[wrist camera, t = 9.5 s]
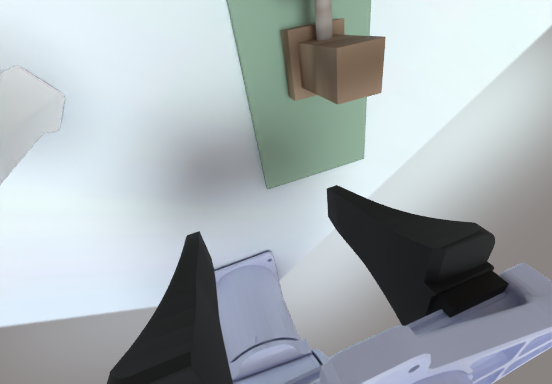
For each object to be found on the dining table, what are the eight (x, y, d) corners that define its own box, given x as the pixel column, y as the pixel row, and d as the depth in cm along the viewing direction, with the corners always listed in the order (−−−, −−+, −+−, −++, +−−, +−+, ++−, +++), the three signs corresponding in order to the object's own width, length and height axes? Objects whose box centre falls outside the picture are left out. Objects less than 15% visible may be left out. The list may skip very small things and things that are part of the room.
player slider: (336, 85, 21) (388, 104, 16) (289, 97, 20) (328, 121, 15) (333, -49, 16) (406, -83, 11) (272, -40, 15) (320, -71, 10)
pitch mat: (361, 156, 26) (363, 158, 26) (266, 186, 24) (268, 189, 24) (371, -132, 15) (377, -136, 15) (202, -116, 13) (203, -120, 13)
